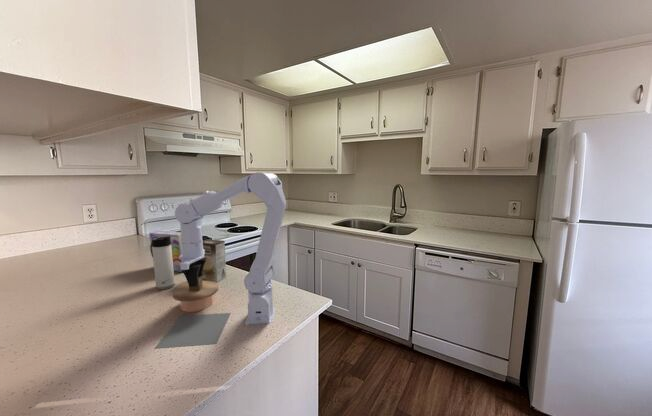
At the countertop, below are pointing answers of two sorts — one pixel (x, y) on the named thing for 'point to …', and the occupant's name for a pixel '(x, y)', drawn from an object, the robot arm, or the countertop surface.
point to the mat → (195, 330)
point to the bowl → (197, 304)
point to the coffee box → (214, 260)
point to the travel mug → (163, 263)
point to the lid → (195, 291)
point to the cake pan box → (175, 245)
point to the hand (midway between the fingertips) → (195, 283)
